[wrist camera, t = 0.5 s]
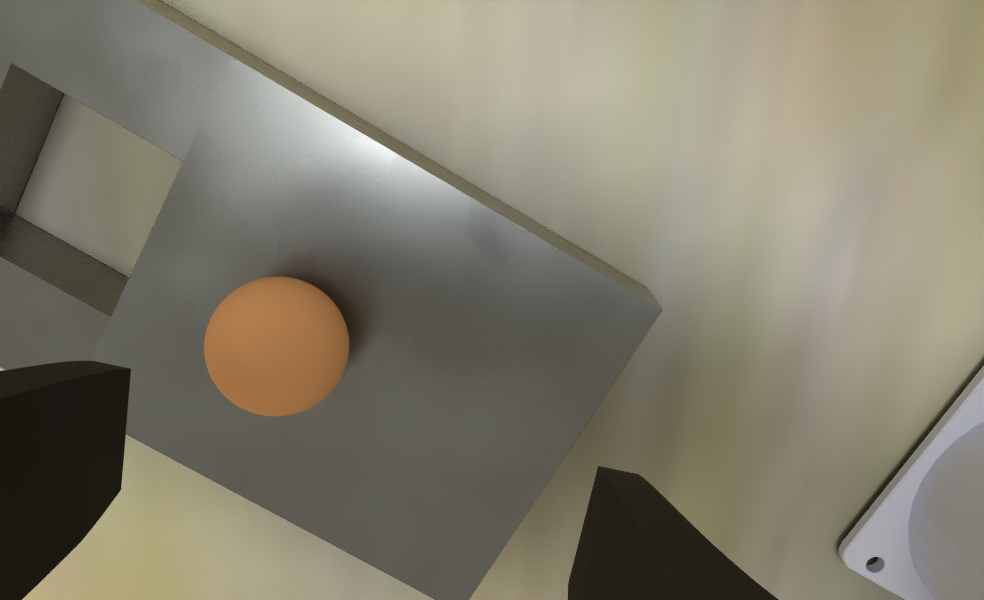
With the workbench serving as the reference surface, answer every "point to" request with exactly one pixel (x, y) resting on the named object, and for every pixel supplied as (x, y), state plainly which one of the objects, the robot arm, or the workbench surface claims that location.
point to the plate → (329, 267)
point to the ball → (276, 346)
